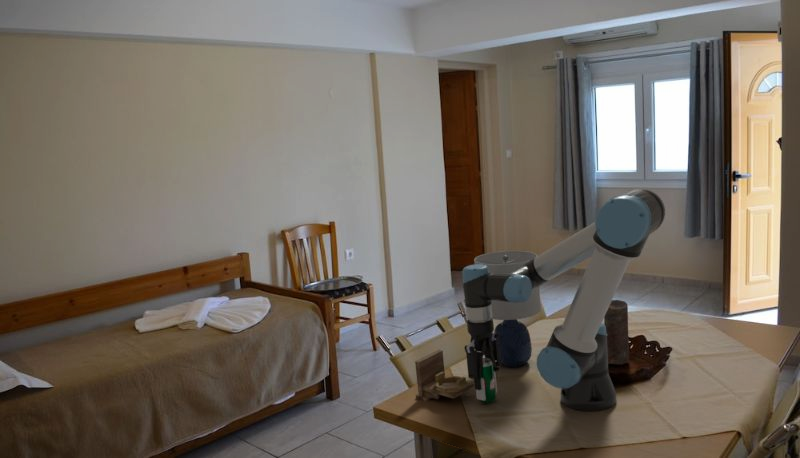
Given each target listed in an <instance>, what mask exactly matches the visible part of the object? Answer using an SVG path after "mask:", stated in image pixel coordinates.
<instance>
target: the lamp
mask: <svg viewBox="0 0 800 458" xmlns="http://www.w3.org/2000/svg"><path fill="white" fill-rule="evenodd" d="M537 256H538V255H537V254H536V253H535V252H531V251H525V250H502V251H493V252H488V253H483V254H481V255H478V256H475V258H474V260H473V261H474V262H473V263H474V264H473V265H476V264H482V265H486V266H487V267H488V270H489V273H492V274H506V273H508V272H510V271H512V270H514V269H516V268H518V267H520V266H522V265H524V264H525V263H527V262H529V261H530V260H532V259H534V258H536V257H537ZM540 293H541V292H540V286H539V287H537V288H535V289H533V290H532V291H531V295H530V297H529V299H528V300H527V301H526V302H517V303H512V302H505V301H494V300H491V303H492V312H493V317H492V319H493V320H495V321H496V320H498V321H502V322H499V323H498V324H497V325H496V326H495V327H494V331H493V333H496V334H499V338H498V345H499V354H500V365H502V366H506V367H510V368H511V367H512V368H513V367H514V368H515V367H520V366H523V365H525V364H527V362H529V361H530V359H531V357H532V351H533V349H532V348H533V347H532V341H531V340H532V339H531V335H530V332H529V331H530V330H529V329H528V328H527V326H526V325H525V323H523V322H521V321H518V320H520V319H526V318H530V317H533V316H536V315H537V314H539V313H541V310H542V305H541V304H542V303H541V294H540Z"/></svg>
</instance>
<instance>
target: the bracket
mask: <svg viewBox="0 0 800 458" xmlns="http://www.w3.org/2000/svg"><path fill="white" fill-rule="evenodd" d="M414 363H415V364H414V365H415V372H416V382H417V394H415V399H418V400H420V399H421V400H420V401H425V402H427V401H429V400H431V399H434V400H439V399H440V396H443V397H447V398H450V399H456V398H457V397H459V396H461V395H462V394H464V393H466V392H468V391H470V390H471V389H473V388H475V383H473V382H469V381H467V377H465V376H463V377H461V376H458V375H450V376H446V373H445V363H444V353H443V350H441V349H438V350H436V351H434V352H432V353H429V354H427V355H426V356H423V357H420V358H419V359H417V360H415V362H414ZM428 399H429V400H428Z"/></svg>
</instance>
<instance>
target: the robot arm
mask: <svg viewBox="0 0 800 458" xmlns="http://www.w3.org/2000/svg"><path fill="white" fill-rule="evenodd" d="M665 216H666V207H665V204H664V202H663V200H662V198H661V197H660V196H659V195H658V194H657V193H655V192H653V191H652V190H649V189H645V188H636V189H632V190H628V191H627V192H624V193H622V194H619V195H614V196H613V197H611V198H609V199H608V200H607V201H605V202H604V203H603V205H602V206H601V207H600V208H599V209H598V211H597V214H596V217H595V220H594V222H592V223H591V224H589V225H587V226H586V227H584V228H582V229H581V230H579V231H577V232H576V233H574V234H572V235H570V236H569V237H567V238H566V239H564V240H562V241H561V242H559V243H557V244H555V245H554V246H552V247H551V248H549V249H547V250H546V251H544V252H542V253H540V254H539V255H537V257H536V258H534V259H532V260H530V261H529V262H527V263H525V264H524V265H522V266H520V267H518V268H516V269H514V270H512V271H510V272H508V273H506V274H492V273H489V270H488V267H487V266H486V265H482V264H476V265H475V264H469V265H467V266H464V268H463V269H462V271H461V273H462V275H461V276H462V288H463V296H464V304H465V314H466V315H465V317H466V319H467V321H466V326H467V333H468V334H469V335H470V341H469V342H470V343H469V344H468V345H464V352H465V354H466V363H467V364H466V365H467V374H468V375H467V376H468V379H472V380H474V381H473V382H474V388H475V392H476V393H475V394H476V399H477V400H479V399H480V400H484V401H485V400H486V395H485V385H484V378H482V365H483V358H489V359H491V361H492V363H493V370H494V380H495V390H496V394H497V393H498V384H497V381H498V377H497V376H498V375H497V372H499V371H500V366H501V364H500V354H499V345H498V338H499V334H496V333H494V331H495V325H494V319H492V317H493V312H492V303H491V300H494V301H505V302H512V303H517V302H526V301H527V300H528V299H529V297H530V295H531V291H532V290H533V289H535V288H537V287H539V288H540V286H542V285H544V284H545V283H547V282H549V281H550V280H552V279H554V278H555V277H557V276H560V275H561V274H563V273H565V272H567V271H569V270H570V269H572V268H574V267H575V266H577V265H579V264H581V263H583V262H585V261H586V260H588V259H589V261H588V264H587V267H586V269H585V272H584V274H583V276H582V278H581V280H580V283H579V285H578V287H577V289H576V292H575V294H574V297H573V300H572V301H571V303H570V305H569V309H568V311H567V314H566V315H565V318H564V321H563V323H562V324H559V325H556V326H555V327H554V328H553V331H552V333H551V336H550V338H549V340H548V343H547V345H546V346H544V347H543V348H542V349H541V350H540V351H539V353H538V355H537V357H536V369H537V371H538V372H539V374H540V377H541V378H542V379H543V380H544V381H545V382H546V383H547V384H549V385H550V386H551V387H554V388H556V389H560V400H561V403H562V404H564V405H565V406H566V407H568V408H570V409H575V410H577V411H584V412H594V411H595V412H597V411H603V410H606V409H609V408H611V407H613V406H615V405H616V403H617V392H616V389H615V386H614V384H613V381H612V378H611V376H610V374H609V364H608V352H607V333H606V327H605V325H604V317H605V314H606V312H607V310H608V308H609V306H610V303H611V301H612V300H614V299H613V298H614V296H615V294H616V292H617V290H618V288H619V285H620V283H621V281H622V279H623V276H624V274H625V272H626V270H627V268H628V265H629V264H630V261H632V260H635V259H638V258H639V257H640V256H641V254H642V251H643V250H644V247H645V244H646V243H647V241H648V238H649V236H650V235H651V234H653V233H654V232H655V231H657V230H658V229H659V228H660V227H662V224H663V222H664V220H665ZM480 400H479V401H480Z"/></svg>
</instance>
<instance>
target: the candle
mask: <svg viewBox="0 0 800 458" xmlns="http://www.w3.org/2000/svg"><path fill="white" fill-rule="evenodd" d="M628 306H629V305H628V303H627V301H625V300H620V299H612V301H611V303H610V306H609V308H608V310H607V312H606V314H605V317H604V319H603V324H604V325H605V327H606V333H607V352H608V365H609V364H611V365H615V366H622V365H625V364H626V363H627V362H629V361H630V346H629V345H630V342H629V341H630V340H629V339H630V338H629V313H628V309H629V307H628Z"/></svg>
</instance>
